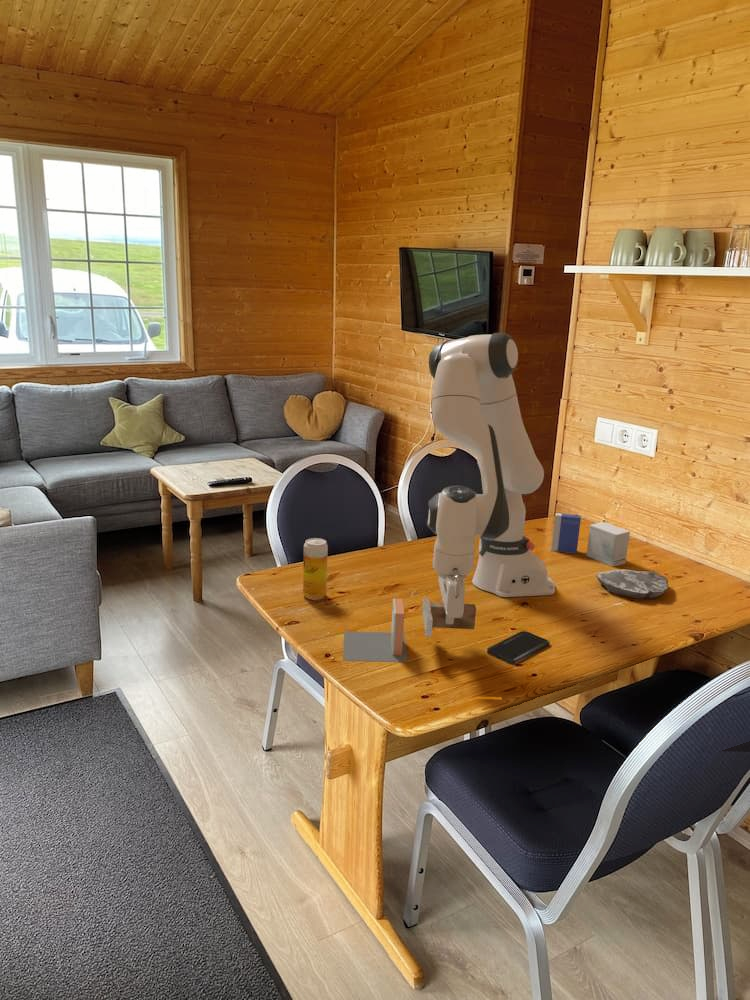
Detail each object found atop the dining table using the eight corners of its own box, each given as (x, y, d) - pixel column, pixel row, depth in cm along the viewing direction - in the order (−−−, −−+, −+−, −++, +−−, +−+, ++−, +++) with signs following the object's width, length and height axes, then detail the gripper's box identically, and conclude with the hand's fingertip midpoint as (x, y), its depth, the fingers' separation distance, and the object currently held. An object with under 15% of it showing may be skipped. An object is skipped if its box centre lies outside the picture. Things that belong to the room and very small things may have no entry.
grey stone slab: (618, 605, 202) (619, 594, 201) (587, 580, 218) (589, 570, 217) (684, 601, 206) (686, 591, 205) (650, 577, 222) (651, 567, 221)
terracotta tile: (399, 638, 176) (402, 598, 173) (401, 655, 168) (404, 613, 165) (390, 638, 176) (392, 598, 173) (392, 655, 168) (394, 613, 165)
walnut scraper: (470, 615, 177) (472, 595, 175) (476, 639, 165) (479, 618, 164) (422, 613, 177) (423, 593, 175) (425, 636, 165) (427, 615, 164)
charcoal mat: (403, 635, 179) (403, 633, 179) (407, 664, 165) (407, 662, 165) (344, 633, 178) (344, 631, 178) (342, 662, 165) (342, 660, 165)
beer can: (299, 593, 200) (300, 538, 195) (321, 590, 202) (323, 536, 198) (307, 602, 194) (308, 546, 190) (329, 599, 197) (331, 544, 193)
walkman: (576, 550, 240) (581, 514, 237) (576, 553, 238) (581, 517, 234) (551, 547, 242) (555, 511, 239) (550, 550, 240) (554, 514, 236)
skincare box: (585, 556, 236) (589, 524, 233) (599, 553, 240) (603, 521, 237) (611, 567, 228) (616, 534, 225) (626, 563, 231) (631, 531, 228)
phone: (551, 641, 177) (513, 661, 167) (551, 646, 177) (513, 666, 167) (523, 630, 182) (484, 648, 172) (522, 634, 183) (484, 653, 173)
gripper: (473, 579, 157) (467, 641, 160) (462, 546, 176) (457, 601, 180) (443, 578, 157) (438, 639, 160) (435, 544, 176) (430, 600, 180)
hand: (448, 619), depth 170 cm, fingers closed on walnut scraper, 2 cm apart
